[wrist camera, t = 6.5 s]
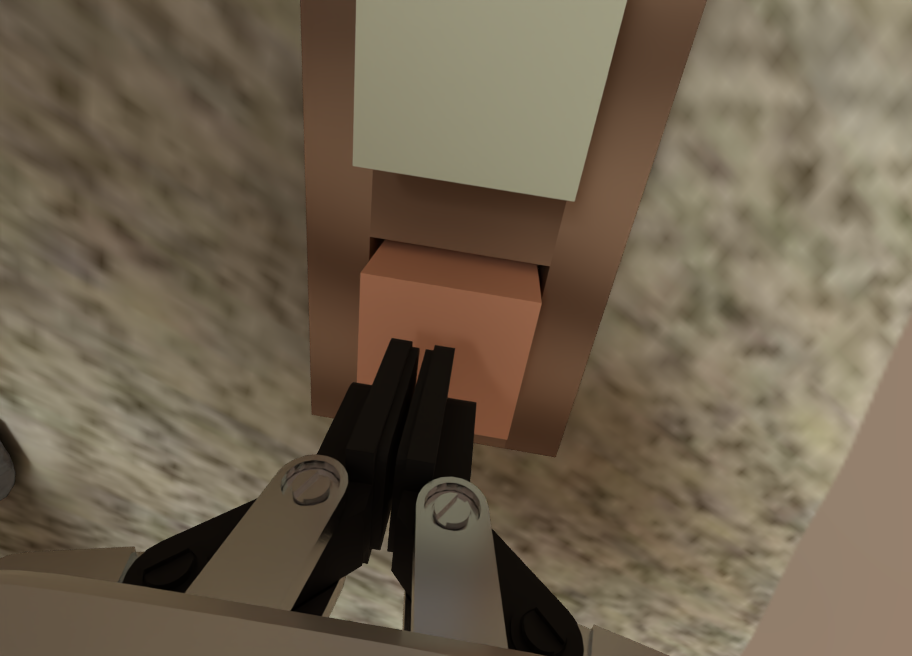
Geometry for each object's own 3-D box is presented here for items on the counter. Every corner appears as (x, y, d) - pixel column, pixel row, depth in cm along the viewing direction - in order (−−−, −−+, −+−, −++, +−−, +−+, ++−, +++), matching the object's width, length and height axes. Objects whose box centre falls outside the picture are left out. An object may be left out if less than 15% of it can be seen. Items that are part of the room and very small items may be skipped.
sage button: (559, 167, 14) (574, 201, 10) (392, 141, 14) (352, 165, 10) (608, -45, 11) (651, -96, 8) (405, -75, 11) (359, -137, 8)
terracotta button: (508, 369, 19) (507, 439, 15) (384, 348, 19) (355, 413, 15) (535, 252, 16) (541, 303, 13) (392, 228, 16) (360, 272, 13)
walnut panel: (551, 415, 20) (555, 457, 18) (332, 377, 20) (311, 414, 18) (927, -819, 7) (1099, -1185, 5) (335, -879, 8) (266, -1253, 5)
